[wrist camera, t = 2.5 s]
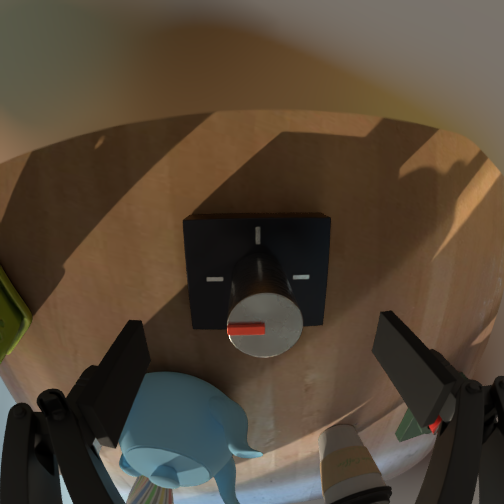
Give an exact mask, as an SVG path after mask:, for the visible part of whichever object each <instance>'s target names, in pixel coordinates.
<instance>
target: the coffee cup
mask: <svg viewBox="0 0 504 504" xmlns="http://www.w3.org/2000/svg"><path fill="white" fill-rule="evenodd" d="M318 444H319V453H320V473H321V483H322V493H323V497H324V503H325V504H389V503H390V500H389V498H390V496H391V495H392V491H391V487H389V486H386V484H385V482H384V480H383V479H382V477H381V475H382V474H381V473H380V471H379V469H378V467H377V465H376V464H375V462H374V460H373V458H372V456H371V455H370V453H369V451H368V449H367V448H366V447H365V446H364V444H363V443H362V441H361V439H360V437H359V435H358V434H357V432H356V430H355V428H354V427H353V426H351V425H337V426H334V427H331V428H329V429H327V430H325V431H324V432H323V433H322V434H321V435H320V437H319V439H318Z"/></svg>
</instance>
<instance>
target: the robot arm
mask: <svg viewBox="0 0 504 504" xmlns="http://www.w3.org/2000/svg"><path fill="white" fill-rule="evenodd" d="M372 352H373V354H374V355H375V357H376V358H377V360H378V361H379V363H380V364H381V366H382V367H383V369H384V370H385V372H386V374H387V375H388V377H389V378H390V380H391V381H392V383H393V384H394V386H395V387H396V389H397V390H398V392H399V394H400V395H401V397H402V398H403V400H404V401H405V403H406V405H407V406H408V408H409V409H410V411H411V413H412V414H413V416H414V417H415V419H416V421H417V422H418V424H419V426H420V427H421V428H423V427H426V426H429V425H431V424H434V422H435V421H436V419H437V417H438V415H440V417H441V418H442V420H441V422H440V424H439V425H438V427H437V429H436V430H435V432H434V434H433V435H435V434H436V433H437V431H438V433H437V437H436V441H435V445H434V449H433V452H432V456H431V460H430V463H429V466H428V469H427V472H426V475H425V478H424V481H423V484H422V487H421V489H420V492H419V495H418V497H417V500H416V502H415V504H472V500H473V496H474V492H475V487H476V482H477V477H478V475H479V504H504V376H498V377H497V378H496V379H495V380H494V383H493V384H492V385H490V386H489V385H488V386H482V385H481V384H480V383H479V382H478V381H475V380H470V379H468V380H465V379H464V378H463V377H462V376H461V375H460V374H459V373H458V371H457V370H456V369H455V368H454V367H453V366H452V365H450V363H449V362H448V361H447V360H446V359H445V358H444V356H443V355H442V354H441V353H439V352H437V351H436V350H434V349H430V350H429V349H428V348H427V347H426V346H425V344H424V343H423V342H422V341H421V340H420V339H419V338H418V337H417V336H416V335H415V334H414V333H413V332H412V331H411V330H410V329H409V328H408V327H407V326H406V325H405V324H404V323H403V322H402V321H401V320H400V319H399V318H398V316H397V315H396V314H395V313H394V312H393V311H384V312H380V317H379V322H378V326H377V331H376V336H375V340H374V344H373V349H372ZM150 362H151V359H150V355H149V351H148V347H147V342H146V338H145V334H144V329H143V324H142V321H141V320H129V321H128V322H127V324H126V325H125V327H124V328H123V329H122V331H121V332H120V334H119V335H118V337H117V338H116V340H115V341H114V343H113V344H112V346H111V347H110V349H109V350H108V352H107V353H106V355H105V356H104V358H103V359H102V361H101V362H100V364H99V366H94V365H91V366H90V367H88V368H87V369H86V370H84V372H83V373H82V375H81V376H80V377H79V379H78V380H77V382H76V385H74V386H73V388H72V390H71V391H70V393H69V394H68V396H67V397H66V398H65V396H64V394H63V392H62V391H60V390H58V389H48V390H45V391H43V392H42V393H41V394H40V395H39V396H38V398H37V405H38V406H39V408H40V409H41V411H42V412H33V410H32V409H31V407H30V406H29V405H28V404H26V403H18V404H16V405H14V406H13V407H12V408H11V409H10V411H9V414H8V418H7V424H6V430H5V436H4V443H3V452H2V462H1V476H0V504H63V503H62V495H61V487H60V478H59V468H60V471H61V474H62V477H63V479H64V482H65V485H66V487H67V490H68V492H69V495H70V497H71V499H72V502H73V504H126V503H125V502H124V500H123V499H122V497H121V495H120V494H119V492H118V490H117V488H116V487H115V485H114V483H113V481H112V480H111V478H110V476H109V474H108V472H107V470H106V468H105V466H104V464H103V462H102V460H101V458H100V456H99V454H98V452H97V450H96V448H95V446H94V445H93V442H94V440H95V437H96V439H97V440H98V442H99V443H100V445H103V446H107V447H111V448H115V449H116V447H117V444H118V441H119V439H120V436H121V433H122V431H123V428H124V425H125V423H126V420H127V418H128V415H129V413H130V410H131V408H132V405H133V403H134V400H135V398H136V395H137V393H138V390H139V388H140V386H141V383H142V381H143V378H144V376H145V374H146V371H147V369H148V367H149V364H150ZM497 416H498V422H497V421H496V418H497Z"/></svg>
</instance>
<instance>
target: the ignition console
mask: <svg viewBox="0 0 504 504" xmlns="http://www.w3.org/2000/svg"><path fill="white" fill-rule="evenodd" d="M459 374H460V375H461V376H462V377H463V378H464V379H465V380H468V378H467V377H466V376H465V375H464V374H463V373H462V372H461V373H459ZM431 432H432V431H431V429H430V428H429V426H426V427H423V428H421V427H420V426H419V424H418V422H417V421H416V419H415V417H414V416H413V414H412V413H411V411H410V409H409V408H408V410H407V412H406V414H405V416H404V418H403V420H402V422H401V424H400V426H399V428H398V430H397V431H396V433H395V434H396V436H397V438H398V440H399V442H402V441H405V440H408V439H410V438H413V437H416V436H419V435H422V434H429V433H431Z"/></svg>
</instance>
